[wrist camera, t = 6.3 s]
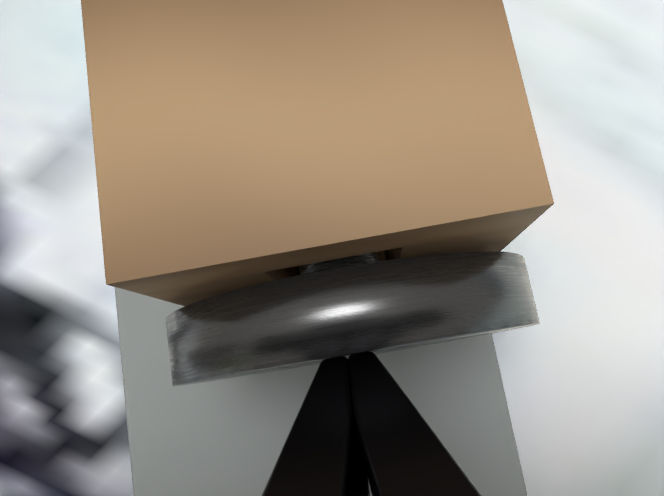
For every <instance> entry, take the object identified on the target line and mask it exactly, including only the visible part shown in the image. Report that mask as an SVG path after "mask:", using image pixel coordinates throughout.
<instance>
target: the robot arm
mask: <svg viewBox="0 0 664 496" xmlns="http://www.w3.org/2000/svg"><path fill="white" fill-rule="evenodd" d="M369 485H370V488H369ZM370 489H371V493H372V496H482V495H481V493H480V492H479V491H478V489H477V488H476V487H475V485H474V484H473V483H472V481H471V480H470V479H469V477H468V476H467V475H466V473H465V472H464V471H463V469H462V468H461V467H460V465H459V464H458V463H457V461H456V460H455V459H454V458H453V456H452V455H451V454H450V452H449V451H448V450H447V448H446V447H445V446H444V444H443V443H442V442H441V440H440V439H439V438H438V436H437V435H436V434H435V432H434V431H433V430H432V428H431V427H430V426H429V424H428V423H427V422H426V420H425V419H424V418H423V417H422V415H421V414H420V413H419V411H418V410H417V409H416V407H415V406H414V405H413V403H412V402H411V401H410V399H409V398H408V397H407V395H406V394H405V393H404V391H403V390H402V389H401V387H400V386H399V385H398V383H397V382H396V381H395V380H394V378H393V377H392V376H391V374H390V373H389V372H388V370H387V369H386V368H385V366H384V365H383V364H382V362H381V361H380V360H379V358H378V357H377V356H376V355H375V354H374V353H373V352H364V353H358V354H352V355H350V356H349V358H348V359H347V358H346V357H345V356H340V357H334V358H329V359H324V360H323V361H321V363H320V365H319V367H318V369H317V372H316V374H315V376H314V378H313V381H312V383H311V385H310V387H309V390H308V392H307V394H306V396H305V399H304V401H303V403H302V405H301V408H300V410H299V412H298V414H297V417H296V419H295V421H294V423H293V426H292V428H291V430H290V432H289V435H288V437H287V439H286V441H285V444H284V446H283V448H282V450H281V453H280V455H279V457H278V459H277V462H276V464H275V466H274V468H273V471H272V473H271V475H270V477H269V480H268V482H267V484H266V487H265V489H264V491H263V493H262V496H370Z"/></svg>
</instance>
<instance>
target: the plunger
mask: <svg viewBox="0 0 664 496" xmlns="http://www.w3.org/2000/svg"><path fill="white" fill-rule="evenodd" d="M300 267H301V273H302V275H298V276H293V277H288V278H284V279H279V280H274V281H270V282H266V283H261V284H257V285H253V286H249V287H245V288H241V289H237V290H234V291H230V292H226V293H223V294H219V295H216V296H213V297H209V298H206V299H203V300H200V301H197V302H195V303H192V304H189V305H187V306H184V307H182V308H180V309H178V310H176V311H174V312H172V313H171V314H169V315H168V316H167V317H166V329H167V338H168V347H169V356H170V366H171V375H172V384H173V386H182V385H189V384H196V383H203V382H210V381H216V380H223V379H229V378H236V377H242V376H248V375H254V374H261V373H267V372H273V371H279V370H285V369H291V368H297V367H303V366H309V365H315V364H320V363H321V361H323V360H324V359H329V358H334V357H340V356H345V357H346V358H347V359H348V358H349V356H350V355H352V354H358V353H364V352H373V353H374V354H380V353H386V352H391V351H397V350H403V349H408V348H414V347H420V346H425V345H431V344H437V343H442V342H448V341H453V340H459V339H464V338H470V337H475V336H481V335H486V334H492V333H497V332H502V331H507V330H512V329H518V328H522V327H527V326H532V325H536V324H539V323H540V322H539V318H538V314H537V310H536V306H535V302H534V297H533V293H532V289H531V285H530V281H529V276H528V272H527V268H526V264H525V260H524V258H523V256H521V255H519V254H516V253H509V252H493V251H488V252H461V253H447V254H436V255H425V256H417V257H408V258H400V259H392V260H385V261H379V256H378V252H373V253H367V254H362V255H356V256H351V257H345V258H340V259H334V260H328V261H323V262H317V263H312V264H306V265H301V266H300Z"/></svg>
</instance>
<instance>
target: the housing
mask: <svg viewBox="0 0 664 496" xmlns="http://www.w3.org/2000/svg"><path fill="white" fill-rule="evenodd" d="M81 6H82V17H83V29H84V40H85V51H86V63H87V74H88V85H89V97H90V108H91V119H92V130H93V142H94V153H95V164H96V176H97V187H98V198H99V209H100V221H101V232H102V243H103V255H104V266H105V277H106V284H107V285H110V286H114V287H117V288H121V289H124V290H128V291H132V292H135V293H139V294H142V295H146V296H149V297H153V298H157V299H160V300H164V301H167V302H171V303H175V304H178V305H182V306H187V305H189V304H192V303H195V302H197V301H200V300H203V299H206V298H209V297H213V296H216V295H219V294H223V293H226V292H230V291H234V290H237V289H241V288H245V287H249V286H253V285H257V284H261V283H266V282H270V281H274V280H279V279H284V278H288V277H293V276H298V275H302V273H301V267H300V266H301V265H306V264H312V263H317V262H323V261H328V260H334V259H340V258H345V257H351V256H356V255H362V254H367V253H373V252H378V256H379V261H385V260H392V259H400V258H408V257H417V256H425V255H436V254H447V253H461V252H488V251H493V252H500V251H501V250H502V249H503V248H505V247H506V246H507V245H508V244H509V243H510V242H511V241H512V240H514V239H515V238H516V237H517V236H518V235H519V234H520V233H521V232H523V231H524V230H525V229H526V228H527V227H528V226H529V225H530V224H532V223H533V222H534V221H535V220H536V219H537V218H538V217H539V216H541V215H542V214H543V213H544V212H545V211H546V210H547V209H548V208H550V207H551V206H552V205H553V204H554V202H553V198H552V194H551V190H550V186H549V182H548V178H547V174H546V170H545V166H544V163H543V159H542V155H541V151H540V147H539V143H538V139H537V135H536V131H535V127H534V123H533V119H532V115H531V112H530V108H529V104H528V100H527V96H526V92H525V88H524V84H523V80H522V76H521V72H520V68H519V64H518V61H517V57H516V53H515V49H514V45H513V41H512V37H511V33H510V29H509V25H508V21H507V17H506V13H505V10H504V6H503V2H502V0H81Z"/></svg>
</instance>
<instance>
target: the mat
mask: <svg viewBox="0 0 664 496" xmlns="http://www.w3.org/2000/svg"><path fill="white" fill-rule="evenodd" d="M115 295H116V306H117V317H118V328H119V339H120V350H121V361H122V372H123V383H124V394H125V405H126V415H127V426H128V437H129V448H130V459H131V470H132V481H133V492H134V496H262V493H263V491H264V489H265V487H266V484H267V482H268V480H269V477H270V475H271V473H272V471H273V468H274V466H275V464H276V462H277V459H278V457H279V455H280V453H281V450H282V448H283V446H284V444H285V441H286V439H287V437H288V435H289V432H290V430H291V428H292V426H293V423H294V421H295V419H296V417H297V414H298V412H299V410H300V408H301V405H302V403H303V401H304V399H305V396H306V394H307V392H308V390H309V387H310V385H311V383H312V381H313V378H314V376H315V374H316V372H317V369H318V367H319V365H320V364H315V365H309V366H303V367H297V368H291V369H285V370H279V371H273V372H267V373H261V374H254V375H248V376H242V377H236V378H229V379H223V380H216V381H210V382H203V383H196V384H189V385H182V386H173V384H172V375H171V366H170V356H169V347H168V338H167V329H166V317H167V316H168V315H169V314H171V313H172V312H174V311H176V310H178V309H180V308H182V307H184V306H182V305H178V304H175V303H171V302H167V301H164V300H160V299H157V298H153V297H149V296H146V295H142V294H139V293H135V292H132V291H128V290H124V289H121V288H117V287H115ZM375 355H376V356H377V357H378V358H379V360H380V361H381V362H382V364H383V365H384V366H385V368H386V369H387V370H388V372H389V373H390V374H391V376H392V377H393V378H394V380H395V381H396V382H397V383H398V385H399V386H400V387H401V389H402V390H403V391H404V393H405V394H406V395H407V397H408V398H409V399H410V401H411V402H412V403H413V405H414V406H415V407H416V409H417V410H418V411H419V413H420V414H421V415H422V417H423V418H424V419H425V420H426V422H427V423H428V424H429V426H430V427H431V428H432V430H433V431H434V432H435V434H436V435H437V436H438V438H439V439H440V440H441V442H442V443H443V444H444V446H445V447H446V448H447V450H448V451H449V452H450V454H451V455H452V456H453V458H454V459H455V460H456V461H457V463H458V464H459V465H460V467H461V468H462V469H463V471H464V472H465V473H466V475H467V476H468V477H469V479H470V480H471V481H472V483H473V484H474V485H475V487H476V488H477V489H478V491H479V492H480V493H481V495H482V496H527V492H526V488H525V483H524V479H523V474H522V470H521V465H520V460H519V456H518V451H517V447H516V442H515V438H514V433H513V429H512V424H511V420H510V415H509V411H508V406H507V402H506V397H505V393H504V388H503V384H502V379H501V375H500V370H499V366H498V361H497V357H496V352H495V348H494V343H493V339H492V334H486V335H481V336H475V337H470V338H464V339H459V340H453V341H448V342H442V343H437V344H431V345H425V346H420V347H414V348H408V349H403V350H397V351H391V352H386V353H380V354H375ZM369 488H370V485H369ZM370 496H372V493H371V489H370Z"/></svg>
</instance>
